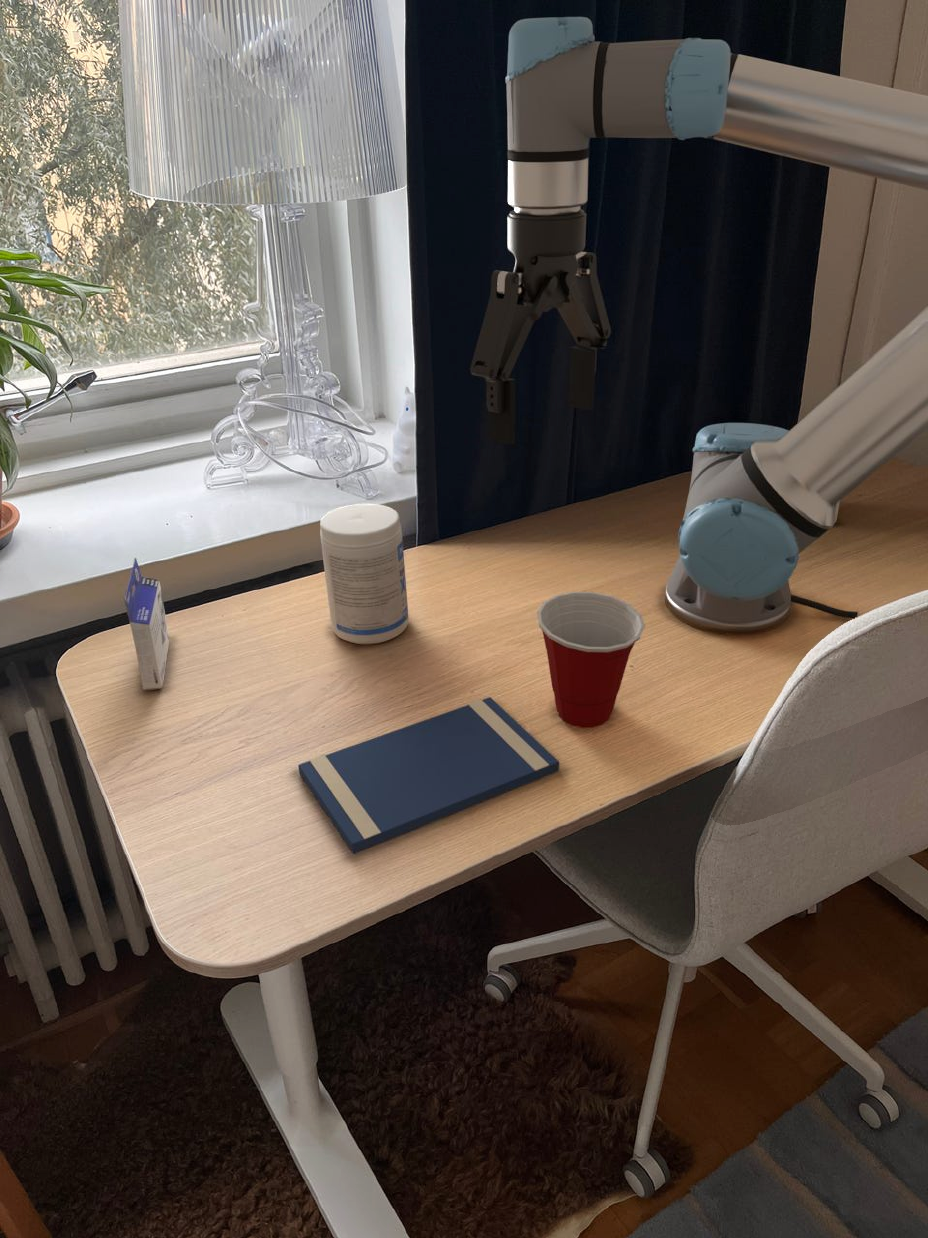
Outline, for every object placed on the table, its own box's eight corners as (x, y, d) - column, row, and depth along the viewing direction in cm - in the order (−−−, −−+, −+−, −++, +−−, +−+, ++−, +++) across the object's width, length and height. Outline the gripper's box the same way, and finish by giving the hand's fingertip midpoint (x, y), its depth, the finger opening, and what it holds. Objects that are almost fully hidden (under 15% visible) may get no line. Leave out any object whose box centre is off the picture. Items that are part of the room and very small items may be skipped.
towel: (490, 705, 104) (490, 695, 103) (559, 771, 94) (559, 760, 94) (299, 774, 95) (297, 763, 94) (353, 854, 85) (352, 843, 84)
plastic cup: (611, 756, 96) (618, 655, 90) (516, 724, 101) (517, 625, 95) (653, 702, 104) (662, 605, 98) (563, 674, 109) (566, 580, 103)
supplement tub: (423, 631, 118) (417, 521, 110) (354, 656, 113) (343, 543, 106) (384, 600, 125) (376, 495, 118) (318, 622, 121) (305, 514, 113)
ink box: (164, 690, 108) (144, 600, 103) (143, 692, 108) (122, 602, 102) (172, 638, 118) (154, 553, 112) (152, 640, 118) (133, 555, 112)
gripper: (591, 191, 102) (583, 389, 113) (427, 221, 86) (437, 448, 97) (652, 196, 97) (638, 401, 108) (491, 228, 82) (494, 465, 92)
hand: (543, 424), depth 102 cm, fingers open, 13 cm apart
